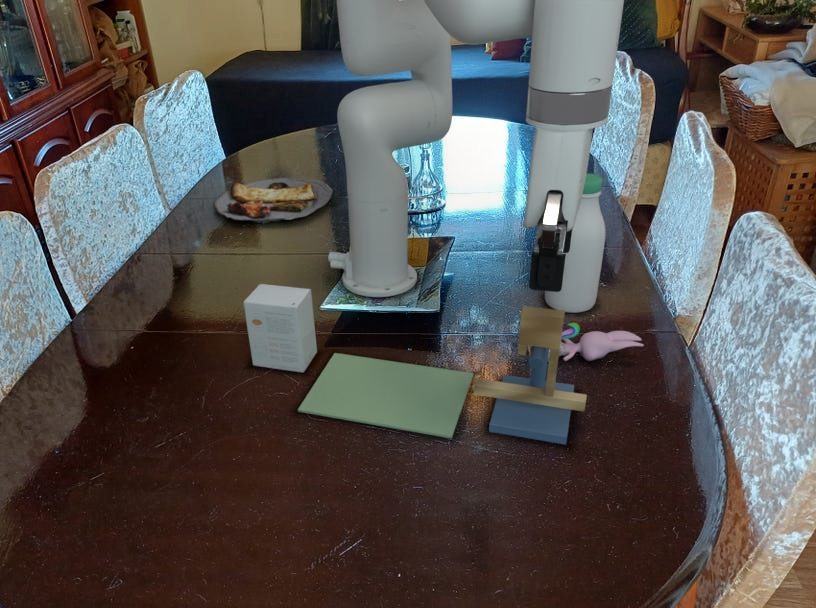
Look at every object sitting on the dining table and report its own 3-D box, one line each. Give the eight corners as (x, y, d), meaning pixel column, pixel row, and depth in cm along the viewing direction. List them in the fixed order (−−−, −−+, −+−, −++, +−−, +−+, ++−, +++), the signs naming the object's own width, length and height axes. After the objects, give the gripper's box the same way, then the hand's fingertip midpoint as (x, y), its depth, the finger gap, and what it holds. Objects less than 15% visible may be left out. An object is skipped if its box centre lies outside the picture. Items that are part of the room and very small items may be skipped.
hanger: (473, 394, 89) (478, 307, 82) (476, 387, 90) (481, 300, 84) (584, 411, 85) (599, 321, 78) (585, 404, 86) (600, 314, 80)
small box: (318, 353, 105) (312, 288, 99) (303, 374, 101) (297, 307, 95) (267, 346, 107) (259, 282, 102) (251, 366, 103) (242, 300, 97)
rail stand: (488, 431, 88) (494, 353, 82) (503, 381, 97) (509, 308, 90) (565, 445, 85) (578, 365, 79) (573, 392, 94) (584, 316, 88)
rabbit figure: (531, 377, 99) (647, 365, 96) (527, 340, 96) (648, 326, 93) (527, 352, 105) (637, 340, 101) (523, 317, 101) (637, 303, 98)
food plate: (202, 228, 147) (199, 212, 145) (230, 188, 166) (228, 173, 164) (324, 228, 144) (323, 211, 142) (338, 187, 163) (337, 172, 161)
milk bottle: (597, 315, 110) (618, 187, 99) (544, 312, 111) (559, 186, 100) (593, 291, 116) (612, 169, 105) (543, 289, 118) (556, 168, 107)
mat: (298, 411, 93) (297, 409, 93) (334, 355, 104) (334, 352, 104) (451, 438, 87) (451, 436, 87) (473, 375, 98) (473, 373, 98)
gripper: (537, 84, 77) (524, 236, 86) (514, 128, 63) (502, 302, 72) (612, 85, 74) (591, 241, 83) (605, 130, 61) (580, 311, 70)
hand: (550, 269), depth 78 cm, fingers open, 9 cm apart
